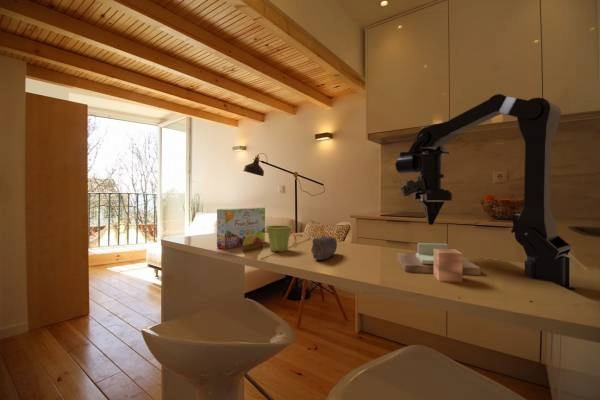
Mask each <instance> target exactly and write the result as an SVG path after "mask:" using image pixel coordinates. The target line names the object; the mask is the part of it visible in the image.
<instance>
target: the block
mask: <svg viewBox="0 0 600 400" xmlns="http://www.w3.org/2000/svg"><path fill="white" fill-rule="evenodd" d="M433 251H434V273H433V276H434V277H435V278H436V280H437V281H439V282H448V283H449V282H453V283H454V282H456V283H463V274H462V257H463V253H462V252H460V251H459V250H457V249H456V248H455V249H453V248H452V249H451V248H450V249H449V248H448V249H433Z"/></svg>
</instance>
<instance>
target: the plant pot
mask: <svg viewBox="0 0 600 400" xmlns="http://www.w3.org/2000/svg"><path fill="white" fill-rule="evenodd" d="M292 228H293V226H292V225H283V224H282V225H279V224H278V225H277V224H276V225H275V224H274V225H273V224H272V225H267V226H266V225H265V229H266V231H267V234H268V235H267V236H268V241H269V249H270V251H271V252H286V251H288V248H289V240H290V233H291V231H292Z"/></svg>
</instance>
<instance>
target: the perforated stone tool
mask: <svg viewBox="0 0 600 400" xmlns="http://www.w3.org/2000/svg"><path fill="white" fill-rule="evenodd" d="M337 247H338V242H337V240H336V239H335V238H334V237H333V236H329V235H327V236H320V237H316V238H313V239H312V247H311V250H310V251H311V253H312V257H313V259H314V260H316V261H323V260H327V259H329V258H330V257H332V256H333V255H334V254H335V253H336V250H337Z"/></svg>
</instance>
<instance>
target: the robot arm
mask: <svg viewBox="0 0 600 400" xmlns="http://www.w3.org/2000/svg"><path fill="white" fill-rule="evenodd" d="M499 115H507V116H509V117H510V116H511V117H514V118H516V119H517V123H518V128H519V131H520V133H521V136H522V139H523V141H524V174H523V175H524V177H523V178H524V181H523V182H524V185H523V193H524V194H523V207H522V210H521V212H520V213H516V214H514V213H513V214H512V215H511V216H512V217H511V220H512V229H511V230H510V231H511V232H510V233H511V234H513V233H514V239H515V241H516V242H517V243H518V244H520V246H522V248H523V250H524V252H525V255H526V260H524V276H525V277H527V278H528V279H531V280H538V281H539V280H541V281H546V282H551V283H553V284H555V285H557V286H560V287H561V288H564V289H566V290H576V286H574V285H572V284H571V283H570V280H571V279H570V278H571V277H570V276H571V273H570V271H571V270H570V269H571V267H570V266H571V265H570V261H571V260H570V257H569V256H568V255H569V254H570V253H571V250H572V249H573V246H572V245H571V244H570V243H569V242H568V241H566V240H565V239H564V238H562V237H561V236H560V235H559V230H558V227H557V223H556V222H557V221H556V217H555V216H554V214H553V212H552V211H553V210H552V208H551V205H550V204H551V169H552V167H551V166H552V165H551V163H552V143H553V142H552V141H553V140H554V139H553V138H554V137H555V135H556V133H557V130H558V128H559V124H560V120H561V115H562V111H561V107H560V106H559V105H558V104H556V103H555V102H553V101H550V100H548V99H546V98H543V97H533V98H530V99H523V98H522V99H521V98H517V97H513V96H512V97H511V96H506V95H504V94H501V93H497V94H494V95H492V96H491V97H489V98H488V99H487V100H484V101H483V102H481V103H479V104H477V105H475V106H473V107H471V108H469V109H468V110H465V111H464V112H462V113H460V114H458V115H456V116H454V117H452V118H451V119H448V120H447V121H444V122H439V123H435V124H431V125H428V126H425V127H423V128H421V129H420V130H419V131H418V132H417V135H416V138H415V140H414V141H413V143H412V145H411V147H409V150H408V151H401V152H400V153H399V156H398V157H397V158H396V162H395V168H396V171H397V172H398V173H399V174H401V175H402V174H415V173H416V174H417V173H419V175H418V176H417V177H416V179H417V180H415V181H414V180H413V179H409V180H407V181H406V182H405V184H404V185H401V186H399V187H398V188H399V190H400V193H401V195H402V197H404V198H405V197H408V196H411V195H412V197H413V198H412V199H413V200H417V203H419V204H420V205H421V206H422V207H423V210H424V214H425V217H426V220H427V224H428V225H429V226H432V225H434V223H435V221H436V219H437V217H438V215H439V214H440V213H439V212H441V209H442V207H443V206H444V204H445V203H446V202H445V201H448V202H449V201H453V193H452V192H451V191H450V190H449V189H444V188H442V179H444V173H443V174H442V163H443V162H442V160H443V159H442V156H446V155H449V154H450V152H449V151H448V150H447V149H446V148H445V147H444V146H445V145H446V144H447V143H449V142H450V141H451V140H452V139H453V138H454V137H455V136H457V135H459V134H461V133H463V132H466V131H467V130H469V129H472V128H474V127H476V126H478V125H480V124H482V123H484V122H487V121H489V120H491V119H493V118H495V117H497V116H499Z"/></svg>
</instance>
